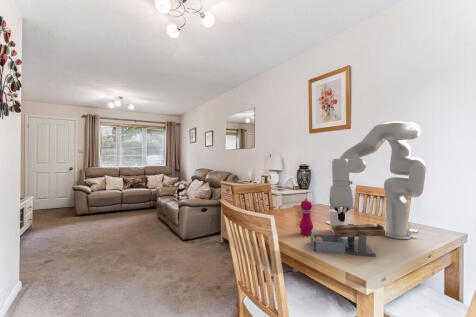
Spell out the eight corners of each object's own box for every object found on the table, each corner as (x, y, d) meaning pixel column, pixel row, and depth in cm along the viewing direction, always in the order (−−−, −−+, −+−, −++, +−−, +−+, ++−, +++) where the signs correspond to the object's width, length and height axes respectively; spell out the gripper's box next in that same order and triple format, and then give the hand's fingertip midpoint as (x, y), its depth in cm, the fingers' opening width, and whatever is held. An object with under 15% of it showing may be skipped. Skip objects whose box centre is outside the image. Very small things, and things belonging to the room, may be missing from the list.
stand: (361, 241, 114) (361, 224, 114) (375, 256, 96) (375, 236, 96) (339, 240, 116) (339, 223, 116) (350, 254, 98) (350, 234, 98)
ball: (319, 245, 107) (324, 238, 107) (321, 249, 103) (325, 241, 103) (312, 241, 108) (316, 234, 108) (313, 244, 104) (317, 236, 104)
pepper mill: (297, 232, 128) (297, 196, 128) (309, 232, 128) (310, 196, 129) (302, 236, 121) (302, 199, 121) (315, 236, 121) (315, 198, 121)
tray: (372, 226, 111) (371, 219, 111) (385, 236, 97) (385, 227, 97) (331, 227, 115) (330, 220, 115) (338, 237, 100) (337, 229, 101)
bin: (338, 244, 110) (338, 234, 110) (345, 254, 98) (345, 243, 98) (310, 242, 113) (310, 232, 113) (314, 251, 101) (314, 241, 101)
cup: (343, 229, 133) (343, 209, 133) (348, 234, 124) (349, 212, 124) (327, 229, 134) (327, 209, 134) (331, 234, 125) (331, 212, 125)
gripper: (354, 182, 113) (355, 219, 113) (323, 182, 116) (324, 218, 116) (359, 184, 106) (360, 223, 106) (326, 184, 109) (327, 222, 109)
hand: (341, 221), depth 111 cm, fingers closed
